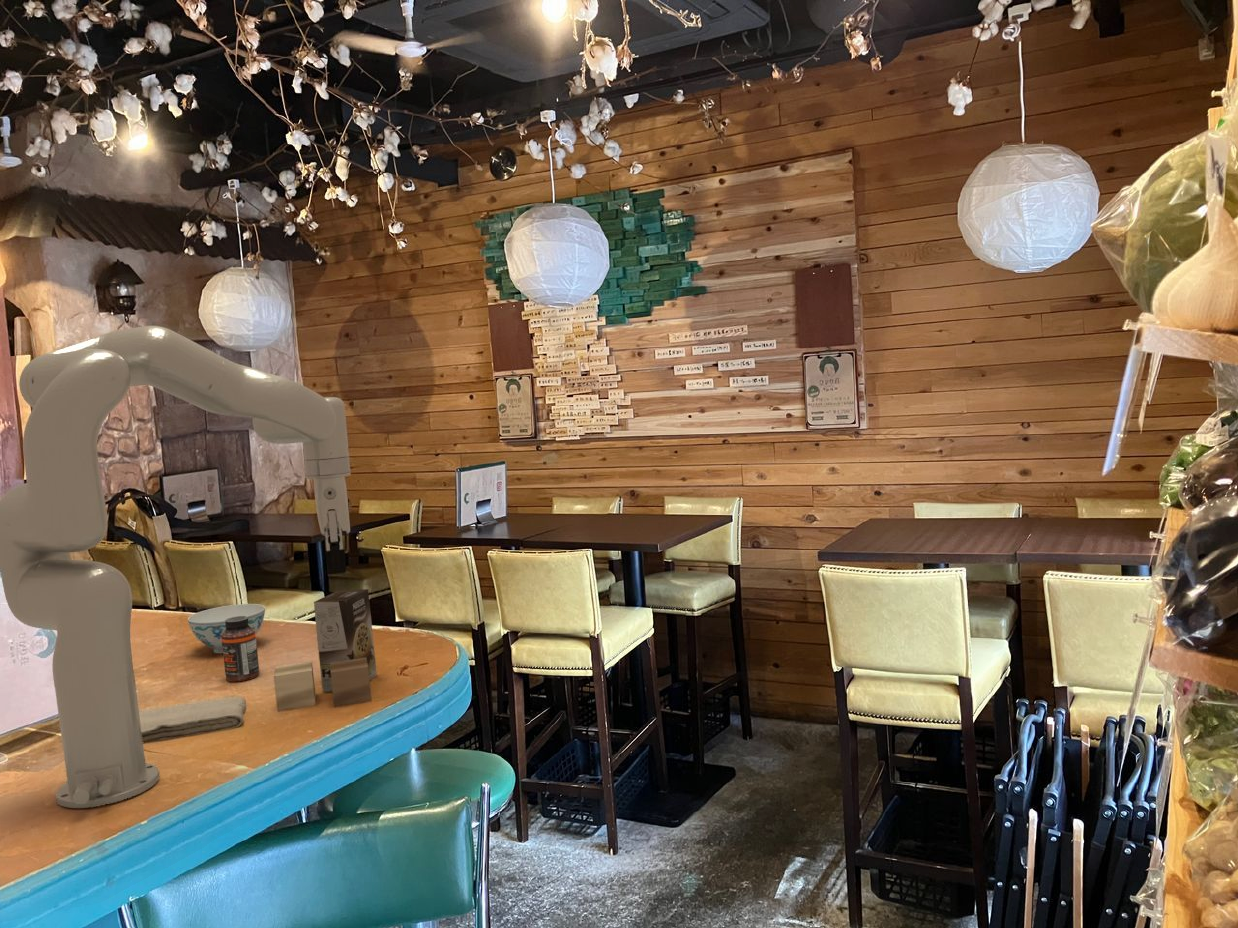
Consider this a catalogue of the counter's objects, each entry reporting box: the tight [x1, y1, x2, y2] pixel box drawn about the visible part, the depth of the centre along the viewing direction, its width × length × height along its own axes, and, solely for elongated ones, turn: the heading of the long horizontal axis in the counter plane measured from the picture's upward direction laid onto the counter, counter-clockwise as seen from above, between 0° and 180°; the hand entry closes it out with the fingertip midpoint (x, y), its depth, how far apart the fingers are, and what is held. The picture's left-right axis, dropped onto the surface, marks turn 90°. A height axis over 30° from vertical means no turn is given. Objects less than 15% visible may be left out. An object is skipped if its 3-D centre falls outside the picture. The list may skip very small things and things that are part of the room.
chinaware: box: [187, 603, 266, 655], centre depth 204 cm, size 15×15×8 cm
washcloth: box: [139, 695, 247, 743], centre depth 159 cm, size 12×18×3 cm, turn 108°
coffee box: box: [313, 588, 378, 693], centre depth 173 cm, size 9×6×16 cm
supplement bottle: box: [221, 616, 260, 683], centre depth 183 cm, size 6×6×11 cm
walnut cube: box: [330, 658, 372, 708], centre depth 165 cm, size 6×6×6 cm
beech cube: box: [273, 660, 317, 712], centre depth 166 cm, size 6×6×6 cm
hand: (337, 572), depth 172 cm, fingers closed
